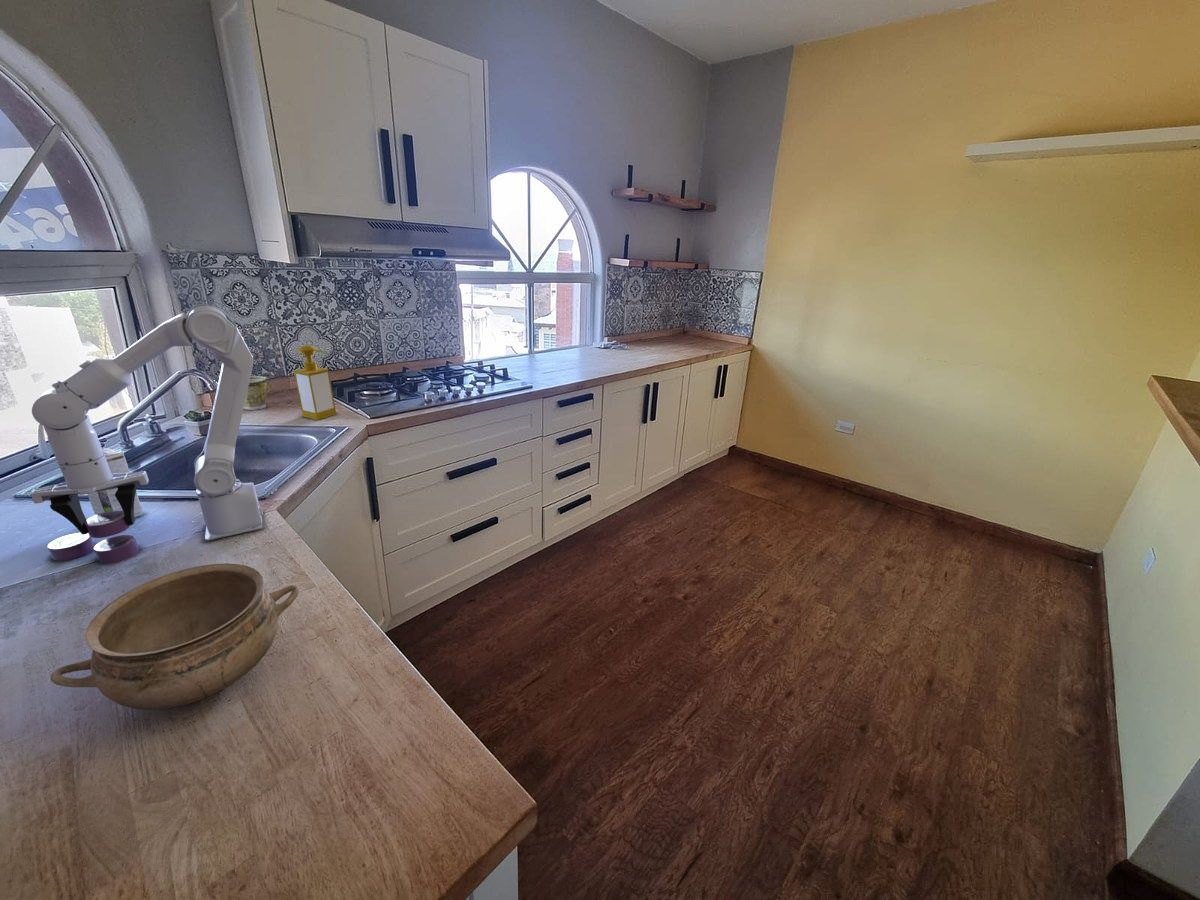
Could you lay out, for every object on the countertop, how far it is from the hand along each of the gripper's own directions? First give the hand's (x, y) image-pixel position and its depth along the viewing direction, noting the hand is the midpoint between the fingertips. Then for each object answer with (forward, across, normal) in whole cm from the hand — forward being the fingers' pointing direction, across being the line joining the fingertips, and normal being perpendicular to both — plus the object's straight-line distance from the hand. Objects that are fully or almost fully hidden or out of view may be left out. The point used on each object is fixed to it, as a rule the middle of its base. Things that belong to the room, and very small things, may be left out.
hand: (108, 527), depth 91 cm
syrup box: (+6, -2, +17) cm, 18 cm away
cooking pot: (+6, +15, -43) cm, 46 cm away
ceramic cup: (+6, +24, +91) cm, 94 cm away
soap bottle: (+6, +42, +70) cm, 82 cm away
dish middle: (0, 0, 0) cm, 0 cm away
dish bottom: (+6, 0, 0) cm, 6 cm away
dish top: (+6, -7, +5) cm, 10 cm away
